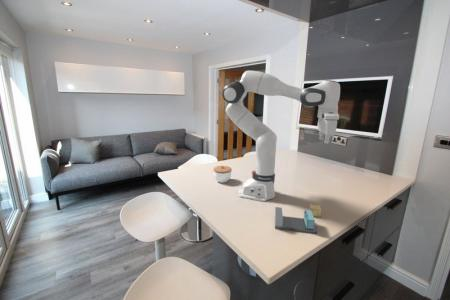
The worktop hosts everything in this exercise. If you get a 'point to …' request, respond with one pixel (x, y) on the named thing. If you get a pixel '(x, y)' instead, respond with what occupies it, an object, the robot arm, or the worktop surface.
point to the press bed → (291, 223)
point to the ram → (309, 219)
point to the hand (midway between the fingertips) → (323, 141)
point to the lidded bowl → (222, 173)
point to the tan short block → (315, 210)
